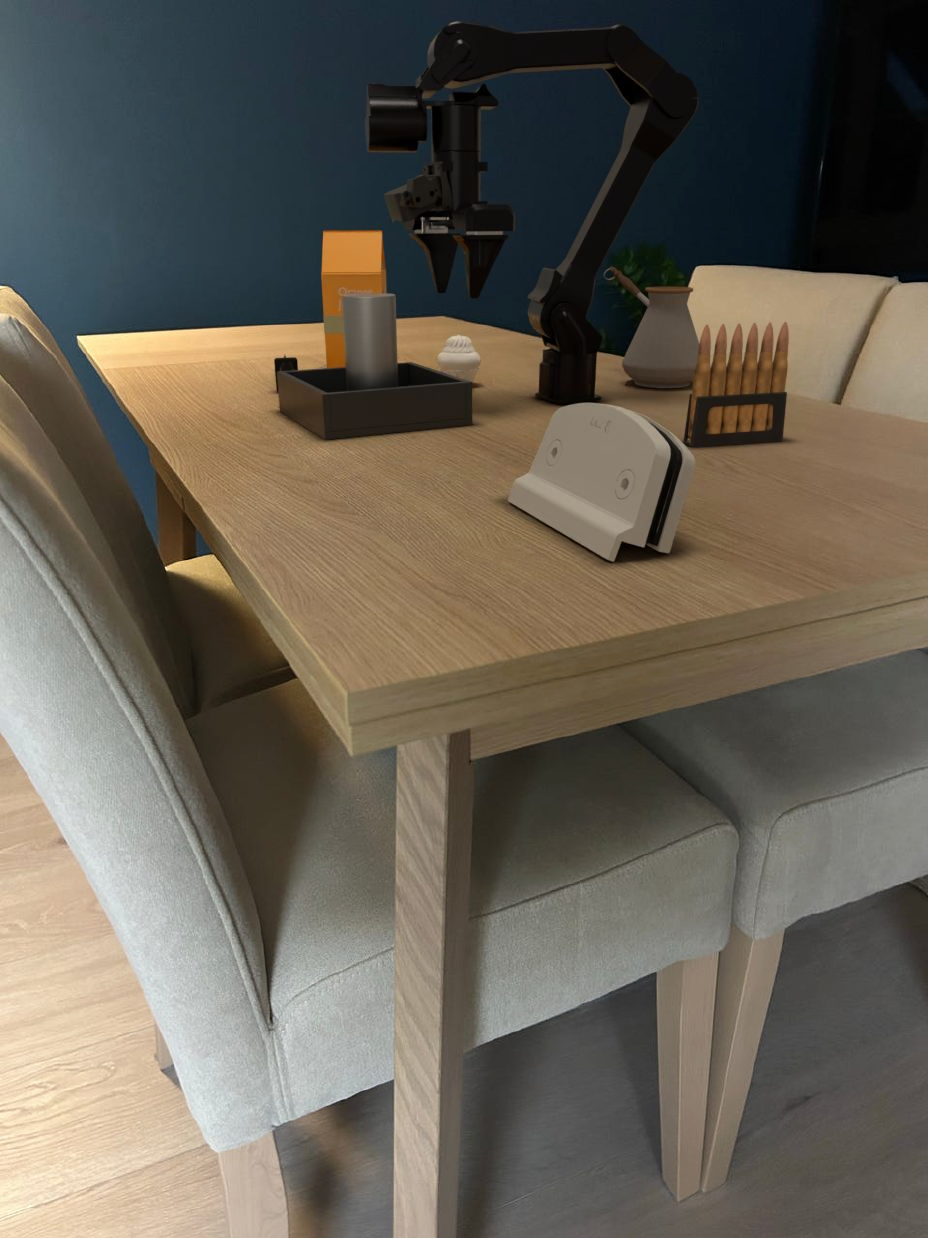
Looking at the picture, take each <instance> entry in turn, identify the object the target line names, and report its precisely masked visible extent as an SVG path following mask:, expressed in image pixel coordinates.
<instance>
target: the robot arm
mask: <svg viewBox="0 0 928 1238" xmlns="http://www.w3.org/2000/svg"><path fill="white" fill-rule="evenodd" d="M427 49H428V50H427V56H426V62H427V67H426V68H425V70H424V71H423V72H422V74H420V75H419V76H418V77H417V78H416V79H415V85H389V84H388V85H387V84H383V83H379V82H369V83H368V84H367V86H366V106H365V108H366V113H365V114H366V116H365V118H364V133H365V134H364V135H365V145H366V151H367V153H417V152H418V148H419V142H420V143H422V144H423V143H427V140H428V110H430V136H431V137H430V140H431V141H430V142H431V143H430V144H431V145H430V147H431V148H430V149H431V150H430V151H431V162H425V164H424V165H423V168H422V174H417V175H416V177H414V178H408V179H407V180H406V184H404V185H401V186H399V187H397V188H394V189H392V190H390V191H387V192H385V193H383V198H384V201H385V203H386V207H387V209H388V212H389V216H390V218H391V221H392V222H393V223H396V222H397V221H399V222H401V223H403V230H404V231H414V233H411V232H410V233H408V236H409V237H410V238H412V239H413V240H415V241H416V242H417V243H418V244H419V245H420V246H421V247H422V249H423V251H424V254H425V256H426V260H427V263H428V266H429V270H430V273H431V277H432V280H433V281H432V282H433V284H434V288H435V291H436V293H437V294H445V293H447V289H448V287H449V283H450V279H451V274H452V271H453V267H454V263H455V258H456V254H457V250H458V246H460V248H461V249H462V251H463V257H464V259H463V260H464V267H465V277H466V285H467V286H466V287H467V293H468V298H469V299H473V300H475V299H478V298H480V296H481V293H482V292H483V289H484V287H485V284H486V283H487V279H488V278H489V275H490V273H491V271H492V269H493V266H494V264H495V262H496V260H497V258H498V256H499V254H500V252H501V250H502V248H503V246H504V245H505V242H506V240H508V241H509V238H510V234H504V232H516V212H515V211H514V210H513V208H512V207H511V206H510V205H509V204H508V203H506V204H504V203H503V204H502V203H500V204H496V203H495V204H491V203H489V204H488V201H487V200H482V173H488V172H489V171H488V170H489V169H488V168H489V167H488V166H489V165H488V161H482V111H483V110H485V111H486V110H488V111H491V110H493V109H495V108H497V107H499V105H500V101H499V99H498V98H497V97H496V96H494V94H492V92H491V91H490V90H489V88H488V87H487V84H486V83H482V84H480V85H479V86H478V88H477V89H476V90H475V91H450V93H449V95H448V100H423V99H430V98H432V97H433V96H434V95H436V94H437V93H439V91H441V90H442V89H444V88H446V89H458V88H463V87H465V86H466V87H467V86H470V85H474V84H476V83H481V82H484V81H488V80H490V79H493V78H497V77H501V76H504V75H508V74H515V73H516V74H518V73H536V72H555V71H569V70H570V71H572V70H587V69H589V70H591V69H603V71H604V72H605V73H606V74H607V75H608V77H609V78H610V80H611V82H612V84H613V85H614V87H615V88H616V90H617V92H618V94H619V95H620V96H621V98H622V99H623V100H624V101H625V102H626V103H627V105H628V106H629V107H630V108H629V112H628V115H627V118H626V121H625V124H624V129H623V135H622V142H621V147H620V149H619V153H618V155H617V157H616V158H615V160H614V163H613V164H612V166H611V168H610V170H609V172H608V174H607V176H606V178H605V179H604V182H603V184H602V186H601V188H600V189H599V191H598V194H597V195H596V197H595V200H594V202H593V203H592V206H591V207H590V209H589V211H588V213H587V215H586V217H585V219H584V221H583V223H582V225H581V227H580V229H579V231H578V233H577V235H576V237H575V239H574V241H573V243H572V244H571V247H570V248H569V251H568V252H567V254H566V256H565V258H564V259H563V261H562V262H561V263H560V264H559V265H558V266H557V268H556V269H554V268H553V269H552V268H547V267H542V269H541V271H540V273H539V276H538V279H537V282H536V284H535V287H534V288H533V290H532V291H531V292H530V293H528V295H527V299H529V300H530V302H529V305H528V307H527V316H528V320H529V324H530V325H531V327H532V329H533V330H534V331H536V332H537V333H539V335H540V338H541V340H542V343H543V346H544V347H546V348H547V349H542V361H540V362H539V367H538V368H539V369H538V372H539V373H538V375H539V376H538V392H535V393H534V397H536V398H540V399H543V400H545V401H548V402H552V403H555V404H559V405H564V404H577V403H587V402H596V401H602V395H598V394H596V379H597V378H596V377H597V359H598V353H599V351H600V347H601V344H602V342H603V339H604V338H603V336H602V334H601V333H600V332H599V331H598V330H597V329H596V328H595V327H594V326H593V324H591V322H590V321H589V320H588V319H587V317H588V314H589V310H590V309H591V305H592V302H593V298H594V292H595V284H596V279H597V276H598V273H599V271H600V270H601V267H602V265H603V263H604V262H605V260H606V258H607V256H608V254H609V252H610V250H611V248H612V246H613V244H614V243H615V240H616V239H617V237H618V235H619V233H620V231H621V229H622V227H623V225H624V223H625V221H626V219H627V217H628V216H629V213H630V211H631V210H632V208H633V206H634V204H635V203H636V200H637V198H638V196H639V194H640V192H641V191H642V188H643V187H644V185H645V183H646V181H647V179H648V177H649V175H650V173H651V172H652V169H653V167H654V166H655V164H656V163H657V162H658V161H659V160H660V159H661V158H662V156H663V155H664V154H665V153H666V152H667V151H668V150H669V149H670V148H671V147H672V145H674V143H675V142H677V140H678V139H679V137H680V136H681V135H682V133H683V132H684V130H685V129H686V128H687V127H688V125H689V124H690V123H691V122H692V120H693V118H694V117H695V115H696V112H697V110H698V107H699V102H700V99H699V97H698V92H697V87H696V86H695V83H694V82H693V80H691V78H690V77H689V76H687V75H685V74H683V73H681V72H677V71H676V70H675V69H674V67H673V66H672V65H671V64H670V63H669V62H668V61H667V59H665V58H664V57H663V56H661V55H659V53H658V52H656V51H655V50H653V48H651V47H650V46H649V45H647V44H646V43H645V42H643V40H642V39H641V37H640V36H639V35H638V34H637V33H636V32H635V31H634V29H633V28H632V27H630V26H629V25H627V24H622V23H618V24H615V25H613V26H607V27H589V28H588V27H587V28H568V29H567V28H565V29H547V30H530V31H529V30H528V31H512V30H506V29H501V28H498V27H495V26H491V25H487V24H480V23H476V22H475V23H474V22H468V21H464V20H463V21H461V20H456V21H453V22H450V23H448V24H446V25H445V26H444V27H442V28H441V29H440V30H439V32H438V33H437V34H436V35H435V37H434V38H433V40H432V41H431V42H430V43H429V47H428V48H427ZM449 230H450V231H455V232H449ZM460 232H463V233H464V232H465V234H461V233H460Z"/></svg>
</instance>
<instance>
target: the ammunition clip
mask: <svg viewBox="0 0 928 1238" xmlns="http://www.w3.org/2000/svg"><path fill="white" fill-rule="evenodd" d="M710 329H711V328H710V326H709V324H705V325H704V327H703V329H702V332H701V334H700V339H699V350H698V356H697V363H696V366H695V370H694V379H693V381H692V391H691V393H690V394H689V398H688V405H687V411H686V412H687V413H686V419H685V427H684V435H683V442H682V443H683V444H684V445H687V446H689V447H691V448H700V447H714V446H727V445H728V446H729V445H743V444H756V443H757V444H758V443H770V442H782V441H783V440H784V430H785V421H786V409H787V398H788V395H787V394H788V392H787V391H786V384H787V376H788V370H789V369H788V368H789V363H788V362H789V361H788V357H789V356H788V355H789V343H790V341H789V339H790V333H789V326H788V323H787V321H784V322H783V323H782V325H781V327H780V329H779V333H778V335H777V340H776V345H775V351H774V343H775V342H774V339H775V338H774V337H775V336H774V327H773V324H772V322H768V323H767V325H766V327H765V330H764V332H763V334H762V335H763V336H762V340H761V345H760V351H759V330H758V325H757V323H756V322H753V323H752V325H751V327H750V329H749V332H748V336H747V338H746V344H745V351H744V356H743V346H744V338H743V337H744V335H743V328H742V324H741V323H737V325H736V327H735V329H734V332H733V334H732V338H731V342H730V349H729V355H728V361H727V351H728V350H727V347H728V336H727V335H728V334H727V328H726V326H725V323H722V324H721V325H720V326H719V329H718V332H717V335H716V338H715V343H714V344H715V345H714V351H713V355H712V362H711V351H712V350H711V348H712V337H711V330H710ZM758 351H759V354H758ZM758 355H759V357H758ZM773 355H774V356H773Z"/></svg>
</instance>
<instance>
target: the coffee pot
mask: <svg viewBox="0 0 928 1238" xmlns="http://www.w3.org/2000/svg"><path fill="white" fill-rule="evenodd" d="M608 271H610V274H612V275H614V276H612V277H611V278H607V277H606V273H607V272H608ZM603 278H604V279H605V280H607V281H611V280H614V279H616V280H618V281H619V282H620V284H621V286H622V287H623V288H625V289H626V290H627V291H629V292H630V293H631V294H632V295H634V296H635V297H636V298H638V299H639V300H640V302H642V303H643V305H644V306H645V307H647V308H646V310H645V312H644V315H643V317H642V319H641V321H640V323H639V325H638V327H637V329H636V331H635V333H634V335H633V338H632V340H631V342H630V344H629V346H628V349H627V350H626V352H625V355H624V357H623V359H622V362H621V365H622V368H623V371H624V372H625V374H626V375H627V376H628V377H629V378H630V379H631V380H633V381H634V385H636V386H640V387H645V388H654V389H655V388H656V389H680V388H686V387H689V386H690V385H691V382H693V379H694V370H695V366H696V363H697V356H698V350H699V343H700V340H699V338H698V334H697V331H696V328H695V326H694V322H693V318H692V316H691V312H690V310H689V306H688V303H689V298H690V295H691V293H693V292H694V288H693V287H690V286H666V285H665V286H664V285H663V286H662V285H661V286H649V287H647V286H646V287H645V292H647V295H648V297H647V296H645V295H644V294H643V293H642V291H641V290H640V289H639V287H637V286H636V285H635V284H634V283H633V281H632V280H631V279H630V278H629V277H627V276H625V275H623V272H622V271H621V270H618V269H617V268H616V267H614V266H612V265H611V266H610V267H609V268H607V269H606V270H605V271H604V273H603Z"/></svg>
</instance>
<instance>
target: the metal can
mask: <svg viewBox="0 0 928 1238" xmlns="http://www.w3.org/2000/svg"><path fill="white" fill-rule="evenodd" d="M396 301H397V299H396V294H395V293H354V294H345V295H342V306H343V325H344V345H345V364H346V384H347V391H356V390H368V389H380V388H392V387H398V363H399V362H398V335H397V302H396Z"/></svg>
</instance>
